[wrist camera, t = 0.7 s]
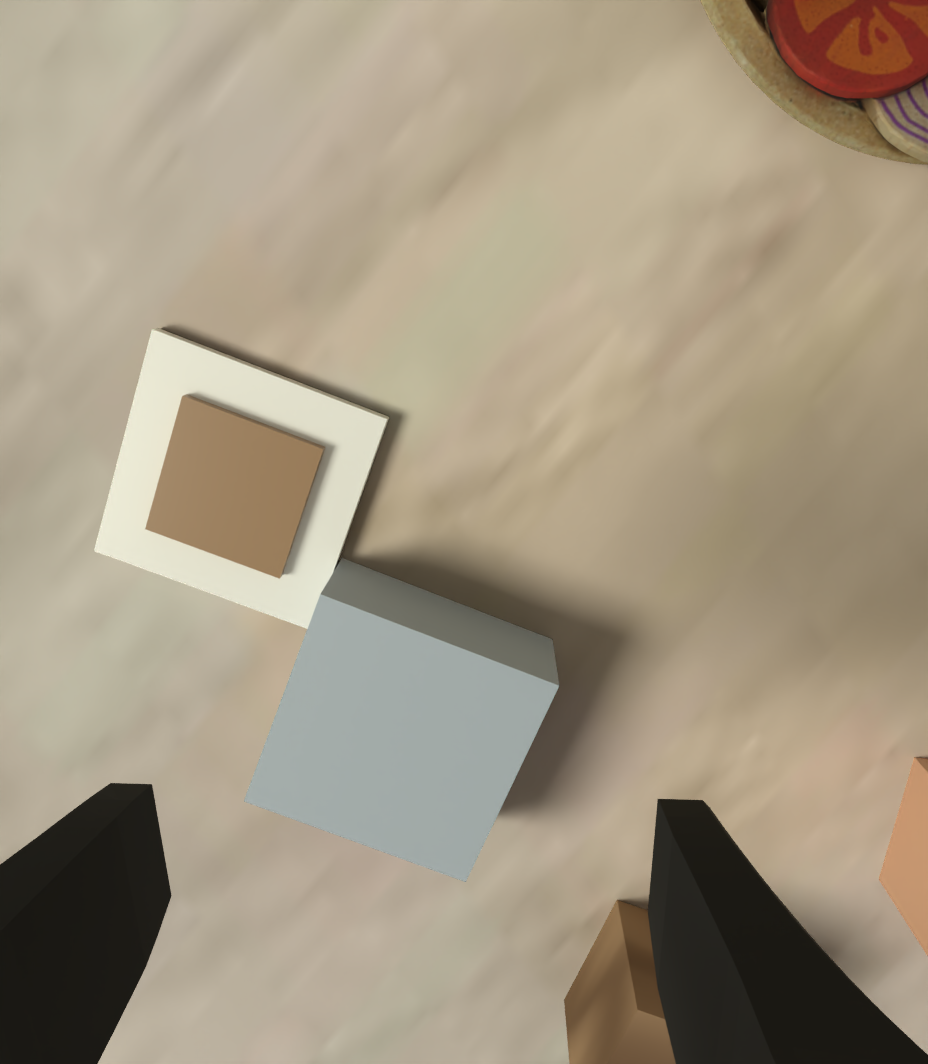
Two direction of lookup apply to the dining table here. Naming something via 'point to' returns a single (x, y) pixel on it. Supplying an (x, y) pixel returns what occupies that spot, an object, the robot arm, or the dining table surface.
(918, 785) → the terracotta cube
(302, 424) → the swatch
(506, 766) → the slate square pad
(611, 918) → the walnut cube
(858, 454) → the dining table surface
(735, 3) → the toy sandwich meal
